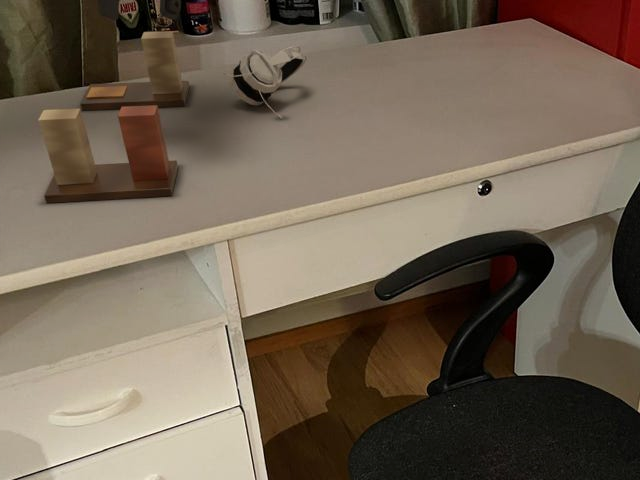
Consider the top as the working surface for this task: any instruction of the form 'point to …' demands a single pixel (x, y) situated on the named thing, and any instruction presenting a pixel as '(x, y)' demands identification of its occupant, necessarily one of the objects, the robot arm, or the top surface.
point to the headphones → (264, 74)
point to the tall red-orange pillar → (144, 142)
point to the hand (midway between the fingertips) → (138, 18)
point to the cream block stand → (89, 165)
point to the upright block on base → (160, 89)
